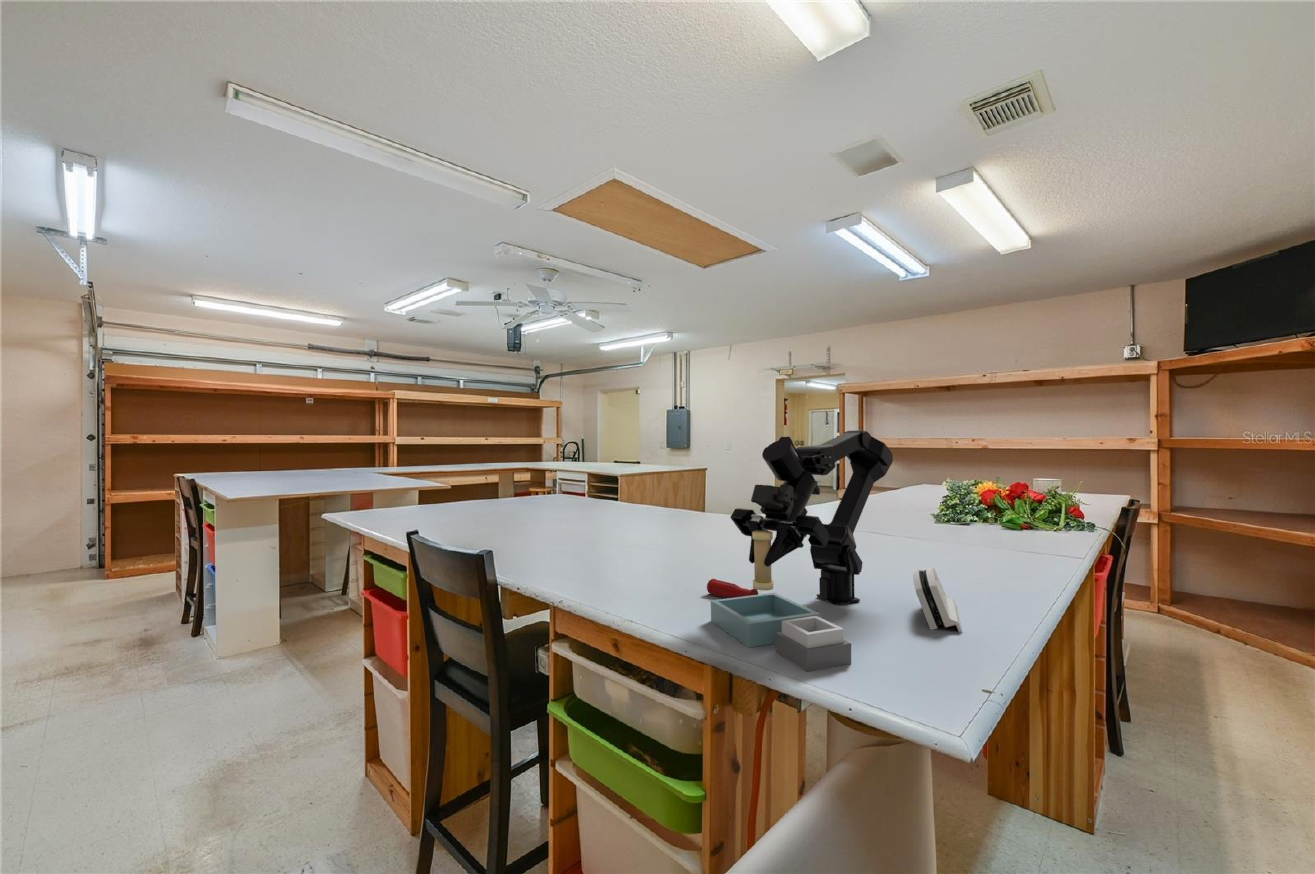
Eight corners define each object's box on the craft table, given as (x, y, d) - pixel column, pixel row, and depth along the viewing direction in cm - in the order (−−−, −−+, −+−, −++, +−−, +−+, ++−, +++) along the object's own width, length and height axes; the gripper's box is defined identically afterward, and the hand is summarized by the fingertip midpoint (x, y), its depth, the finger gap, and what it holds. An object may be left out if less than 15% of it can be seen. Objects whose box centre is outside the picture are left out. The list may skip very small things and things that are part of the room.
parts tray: (774, 612, 103) (774, 592, 103) (820, 635, 89) (820, 613, 90) (711, 620, 98) (710, 600, 98) (749, 647, 85) (749, 624, 85)
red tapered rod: (806, 622, 97) (806, 603, 97) (705, 595, 115) (705, 579, 115) (816, 618, 99) (816, 599, 99) (715, 592, 117) (715, 576, 117)
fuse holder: (817, 644, 86) (816, 614, 86) (851, 663, 78) (850, 629, 78) (775, 651, 83) (775, 620, 83) (807, 671, 75) (806, 637, 75)
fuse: (771, 585, 95) (770, 530, 96) (774, 590, 92) (774, 533, 92) (751, 585, 96) (751, 530, 96) (754, 590, 92) (753, 533, 92)
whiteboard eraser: (962, 633, 90) (939, 577, 92) (933, 638, 92) (911, 583, 94) (956, 606, 105) (936, 558, 107) (932, 611, 107) (913, 564, 109)
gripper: (735, 467, 104) (697, 529, 96) (819, 470, 90) (782, 542, 82) (760, 503, 109) (726, 565, 101) (843, 511, 95) (811, 583, 87)
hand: (758, 563), depth 93 cm, fingers closed on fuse, 3 cm apart
